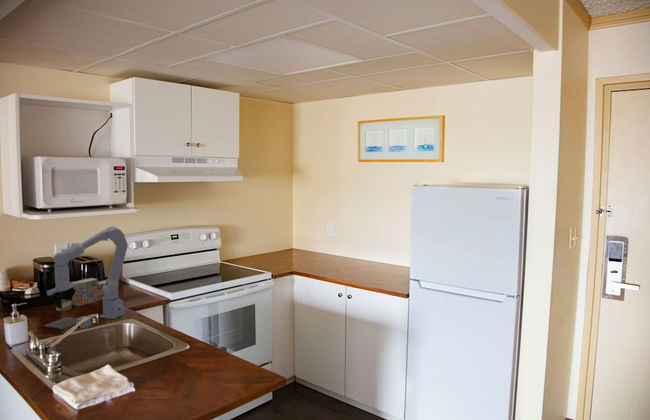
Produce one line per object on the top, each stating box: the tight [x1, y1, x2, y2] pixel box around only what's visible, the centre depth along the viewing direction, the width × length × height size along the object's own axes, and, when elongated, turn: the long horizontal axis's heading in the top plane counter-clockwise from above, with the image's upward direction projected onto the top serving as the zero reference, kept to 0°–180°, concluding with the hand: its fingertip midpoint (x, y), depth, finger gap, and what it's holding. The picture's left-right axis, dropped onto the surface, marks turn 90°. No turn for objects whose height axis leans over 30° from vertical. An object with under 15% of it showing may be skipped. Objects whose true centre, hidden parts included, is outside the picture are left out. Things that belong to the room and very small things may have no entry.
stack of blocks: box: [69, 277, 107, 307], centre depth 255 cm, size 21×6×12 cm, turn 143°
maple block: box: [55, 298, 73, 312], centre depth 218 cm, size 4×4×4 cm
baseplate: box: [43, 317, 76, 330], centre depth 218 cm, size 12×12×1 cm
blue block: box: [75, 315, 92, 329], centre depth 215 cm, size 4×4×4 cm
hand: (64, 306), depth 218 cm, fingers closed on maple block, 4 cm apart
